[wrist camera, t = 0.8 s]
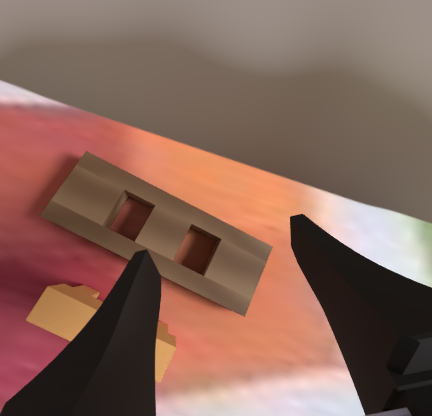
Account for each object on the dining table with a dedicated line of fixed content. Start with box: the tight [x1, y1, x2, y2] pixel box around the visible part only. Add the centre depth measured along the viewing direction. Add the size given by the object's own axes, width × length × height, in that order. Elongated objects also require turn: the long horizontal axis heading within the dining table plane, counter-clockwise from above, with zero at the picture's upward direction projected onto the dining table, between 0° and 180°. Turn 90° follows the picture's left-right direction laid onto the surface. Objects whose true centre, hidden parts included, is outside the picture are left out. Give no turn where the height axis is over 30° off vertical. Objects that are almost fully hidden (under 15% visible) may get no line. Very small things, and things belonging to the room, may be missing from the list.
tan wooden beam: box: [26, 284, 176, 383], centre depth 20 cm, size 2×10×6 cm, turn 64°
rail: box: [40, 151, 272, 317], centre depth 24 cm, size 7×20×2 cm, turn 64°
